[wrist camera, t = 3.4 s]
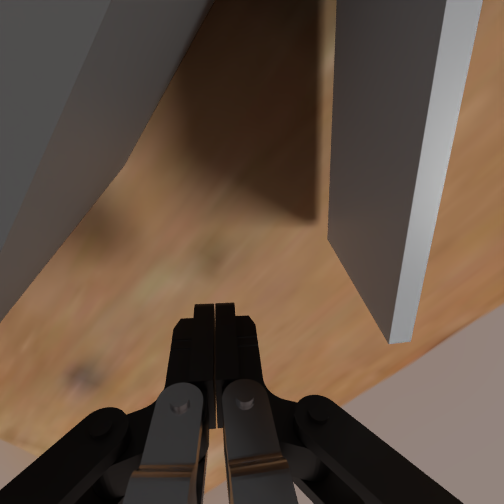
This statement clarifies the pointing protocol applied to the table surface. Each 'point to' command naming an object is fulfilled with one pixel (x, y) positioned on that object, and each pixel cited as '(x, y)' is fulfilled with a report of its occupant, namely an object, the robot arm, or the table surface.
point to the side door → (394, 143)
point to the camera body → (75, 112)
